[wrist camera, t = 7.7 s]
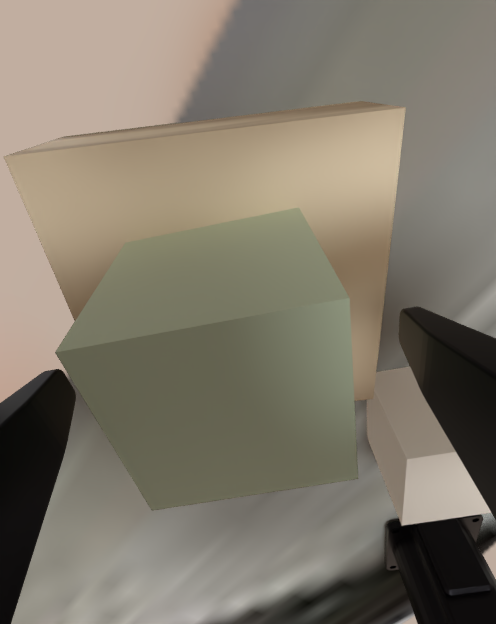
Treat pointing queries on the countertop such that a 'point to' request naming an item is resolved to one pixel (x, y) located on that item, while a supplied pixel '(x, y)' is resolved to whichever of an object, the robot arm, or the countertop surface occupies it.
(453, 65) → the countertop surface
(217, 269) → the sage cube
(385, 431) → the white cube
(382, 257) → the birch block
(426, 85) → the countertop surface
